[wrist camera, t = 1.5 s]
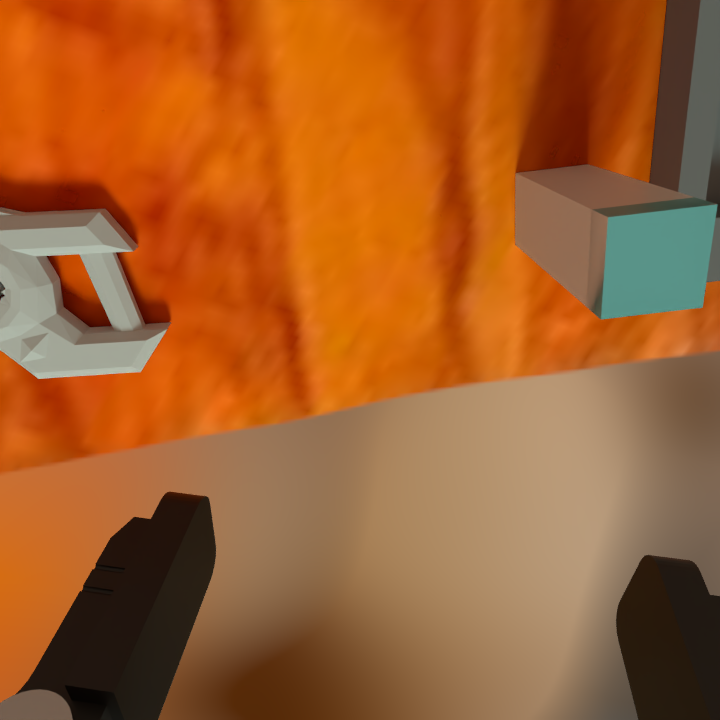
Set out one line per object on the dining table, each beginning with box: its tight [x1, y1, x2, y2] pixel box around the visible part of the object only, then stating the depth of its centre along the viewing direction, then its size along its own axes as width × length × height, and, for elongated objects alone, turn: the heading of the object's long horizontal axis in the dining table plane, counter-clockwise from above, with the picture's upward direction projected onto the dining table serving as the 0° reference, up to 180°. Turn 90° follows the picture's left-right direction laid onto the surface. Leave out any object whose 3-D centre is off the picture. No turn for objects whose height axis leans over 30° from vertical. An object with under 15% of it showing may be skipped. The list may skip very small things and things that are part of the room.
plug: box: [515, 164, 718, 319], centre depth 28 cm, size 4×4×12 cm
